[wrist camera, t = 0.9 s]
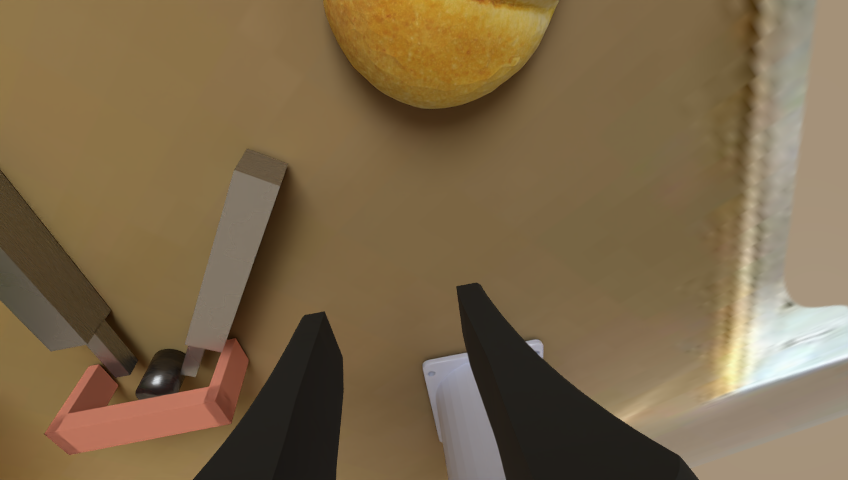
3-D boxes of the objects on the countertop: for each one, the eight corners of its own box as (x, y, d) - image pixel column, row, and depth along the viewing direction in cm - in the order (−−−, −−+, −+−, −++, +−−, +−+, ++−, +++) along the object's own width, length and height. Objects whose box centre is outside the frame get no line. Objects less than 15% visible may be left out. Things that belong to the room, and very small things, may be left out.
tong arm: (219, 359, 25) (208, 390, 24) (187, 352, 25) (173, 384, 23) (287, 163, 19) (280, 186, 17) (247, 148, 19) (234, 170, 17)
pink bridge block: (248, 360, 26) (231, 423, 22) (108, 387, 26) (69, 455, 22) (235, 338, 25) (214, 401, 21) (88, 366, 25) (43, 434, 21)
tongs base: (196, 368, 26) (182, 402, 24) (132, 380, 26) (113, 415, 24) (13, 111, 17) (-34, 132, 15) (-85, 129, 17) (-145, 152, 15)
